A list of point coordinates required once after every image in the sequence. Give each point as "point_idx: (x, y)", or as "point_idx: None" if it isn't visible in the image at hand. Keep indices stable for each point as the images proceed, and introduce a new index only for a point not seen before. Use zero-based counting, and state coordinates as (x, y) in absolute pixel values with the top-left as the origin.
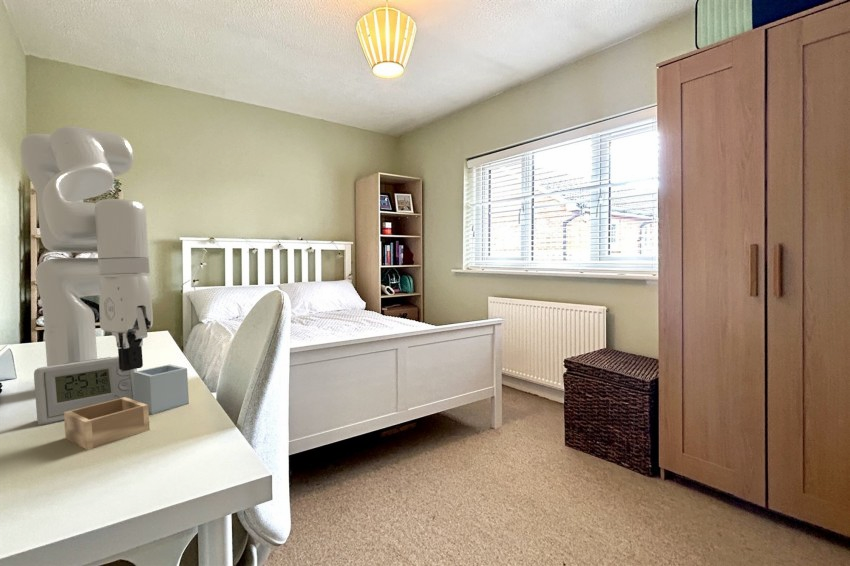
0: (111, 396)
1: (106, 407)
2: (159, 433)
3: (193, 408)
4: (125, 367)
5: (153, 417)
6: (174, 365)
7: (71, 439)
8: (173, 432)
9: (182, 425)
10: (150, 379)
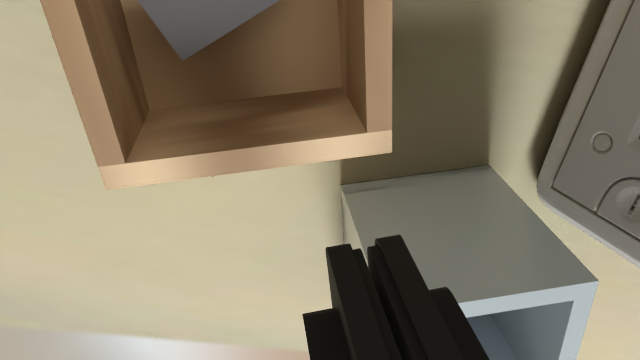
0: (619, 130)
1: (358, 48)
2: None
3: (309, 302)
4: (331, 271)
5: (337, 187)
6: None
7: None
8: (70, 186)
9: (133, 229)
10: None
